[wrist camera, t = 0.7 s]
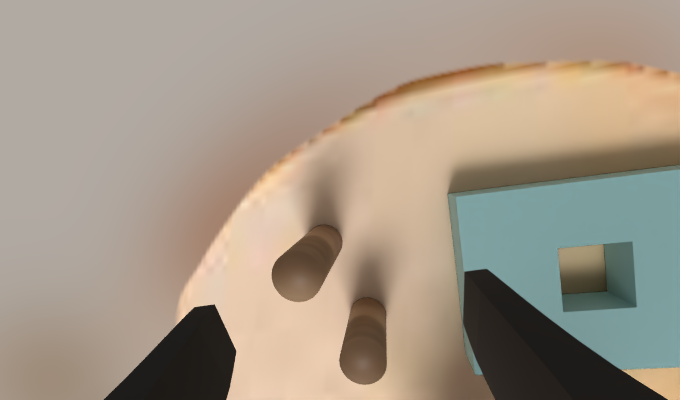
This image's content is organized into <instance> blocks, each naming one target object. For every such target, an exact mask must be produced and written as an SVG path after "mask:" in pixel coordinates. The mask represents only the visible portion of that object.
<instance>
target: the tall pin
mask: <svg viewBox="0 0 680 400" xmlns="http://www.w3.org/2000/svg"><path fill="white" fill-rule="evenodd" d="M341 248H342V238H341V235H340V234H339V232H338V231H337V230H336V229H335V228H333V227H331V226H329V225H319V226H317V227H315V228H313V229H312V230H311V231H310V232H309V233H308V234H306V235H305V236H304V237H303V238H302V239H300V240H299V241H298V242H297V243H296V244H295V245H293V246H292V247H291V248H290V249H289V250H287V251H286V252H285V253H284V254H283V255H282V256H280V257H279V258H278V259H277V261H276V262H275V264H274V266H273V269H272V281H273V284H274V287H275V288H276V290H277V291H278V293H279V294H280V295H281V296H283V297H284V298H286V299H288V300H290V301H294V302H303V301H307V300H309V299H311V298H313V297H314V296H315V295H316V294H317V293H318V291H319V290H320V288H321V286H322V284H323V282H324V280H325V279H326V277H327V275H328V273H329V271H330V269H331V267H332V266H333V264H334V262H335V260H336V258H337V256H338V254H339V252H340V250H341Z"/></svg>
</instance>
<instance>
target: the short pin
mask: <svg viewBox="0 0 680 400" xmlns="http://www.w3.org/2000/svg"><path fill="white" fill-rule="evenodd" d="M339 361H340V367H341V370H342V371H343V373H344V374H345V376H346V377H347V378H348V379H350V380H351V381H353V382H355V383H358V384H364V385H366V384H372V383H375V382H377V381H378V380H379V379H380V378H382V376H383V375H384V373H385V371H386V365H387V356H386V311H385V309H384V307H383V305H382V304H381V303H380V302H379V301H377V300H375V299H372V298H362V299H359V300H358V301H356V302H355V303H354V304H353V306H352V308H351V312H350V316H349V320H348V324H347V328H346V333H345V337H344V341H343V345H342V350H341V354H340V360H339Z"/></svg>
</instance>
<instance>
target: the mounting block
mask: <svg viewBox="0 0 680 400" xmlns="http://www.w3.org/2000/svg"><path fill="white" fill-rule="evenodd" d="M448 201H449V210H450V219H451V228H452V237H453V246H454V254H455V263H456V272H457V281H458V290H459V299H460V308H461V317H462V326H463V335H464V344H465V352H466V355H467V357H468V359H469V362H470V364H471V366H472V369H473V371H474V373H475V375H483V373H482V371H481V369H480V367H479V365H478V363H477V361H476V358H475V356H474V353H473V350H472V347H471V345H470V342H469V339H468V336H467V333H466V331H465V328H464V325H463V305H464V272H465V271H473V270H480V269H488V270H489V271H490V272H492V273H493V274H494V275H496V276H497V277H498V278H499V279H500V280H502V281H503V282H504V283H505V284H507V285H508V286H509V287H510V288H511V289H513V290H514V291H515V292H516V293H518V294H519V295H520V296H521V297H523V298H524V299H525V300H526V301H528V302H529V303H530V304H531V305H533V306H534V307H535V308H536V309H538V310H539V311H540V312H542V313H543V314H544V315H545V316H547V317H548V318H549V319H551V320H552V321H553V322H555V323H556V324H557V325H559V326H560V327H561V328H563V329H564V330H565V331H567V332H568V333H569V334H571V335H572V336H573V337H575V338H576V339H577V340H579V341H580V342H582V343H583V344H584V345H586V346H587V347H589V348H590V349H591V350H593V351H594V352H596V353H597V354H599V355H600V356H602V357H603V358H604V359H606V360H607V361H609V362H610V363H612V364H613V365H614V366H616V367H617V368H619V369H646V368H672V367H680V165H673V166H665V167H657V168H649V169H641V170H633V171H625V172H617V173H609V174H601V175H593V176H585V177H577V178H569V179H561V180H553V181H545V182H537V183H529V184H521V185H513V186H505V187H497V188H489V189H481V190H472V191H464V192H456V193H448ZM599 244H604V253H605V266H606V280H607V291H602V292H588V293H574V294H562V293H561V281H560V269H559V258H558V248H567V247H577V246H588V245H599Z"/></svg>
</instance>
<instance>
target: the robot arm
mask: <svg viewBox="0 0 680 400" xmlns="http://www.w3.org/2000/svg"><path fill="white" fill-rule="evenodd" d="M463 325H464V328H465V331H466V333H467V336H468V339H469V342H470V345H471V347H472V350H473V353H474V356H475V358H476V361H477V363H478V365H479V367H480V369H481V371H482V373H483V375H484V377H485V379H486V381H487V384H488V386H489V388H490V390H491V392H492V394H493V396H494V398H495V400H668V399H666V398H664V397H663V396H661V395H660V394H658V393H656V392H655V391H653V390H652V389H650V388H648V387H647V386H645V385H644V384H642V383H640V382H639V381H637V380H636V379H634V378H633V377H631V376H630V375H628V374H627V373H625V372H623V371H622V370H620V369H619V368H617V367H616V366H614V365H613V364H612V363H610V362H609V361H607V360H606V359H604V358H603V357H602V356H600V355H599V354H597V353H596V352H594V351H593V350H591V349H590V348H589V347H587V346H586V345H584V344H583V343H582V342H580V341H579V340H577V339H576V338H575V337H573V336H572V335H571V334H569V333H568V332H567V331H565V330H564V329H563V328H561V327H560V326H559V325H557V324H556V323H555V322H553V321H552V320H551V319H549V318H548V317H547V316H545V315H544V314H543V313H542V312H540V311H539V310H538V309H536V308H535V307H534V306H533V305H531V304H530V303H529V302H528V301H526V300H525V299H524V298H523V297H521V296H520V295H519V294H518V293H516V292H515V291H514V290H513V289H511V288H510V287H509V286H508V285H507V284H505V283H504V282H503V281H502V280H500V279H499V278H498V277H497V276H496V275H494V274H493V273H492V272H490V271H489V270H488V269H480V270H473V271H465V272H464V305H463ZM235 356H236V349H235V347H234V345H233V343H232V341H231V339H230V337H229V334H228V332H227V330H226V328H225V326H224V324H223V321H222V319H221V317H220V315H219V313H218V311H217V309H216V306H215V305H208V306H200V307H194V308H193V309H192V310H191V311H190V312H189V313H188V314H187V315H186V316H185V317H184V318H183V319H182V320H181V321H180V322H179V323H178V324H177V325H176V326H175V327H174V329H173V330H172V331H171V332H170V333H169V334H168V335H167V336H166V337H165V338H164V339H163V340H162V341H161V342H160V343H159V344H158V345H157V346H156V347H155V348H154V350H153V351H152V352H151V353H150V354H149V355H148V356H147V357H146V358H145V359H144V360H143V361H142V362H141V363H140V364H139V365H138V366H137V367H136V368H135V369H134V370H133V371H132V372H131V373H130V374H129V375H128V376H127V377H126V378H125V379H124V380H123V381H122V382H121V383H120V384H119V385H118V386H117V387H116V388H115V389H114V390H113V391H112V392H111V393H110V394H109V395H108V396H107V397H106V398H105V399H104V400H226V398H227V395H228V392H229V388H230V383H231V378H232V373H233V368H234V362H235Z"/></svg>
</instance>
